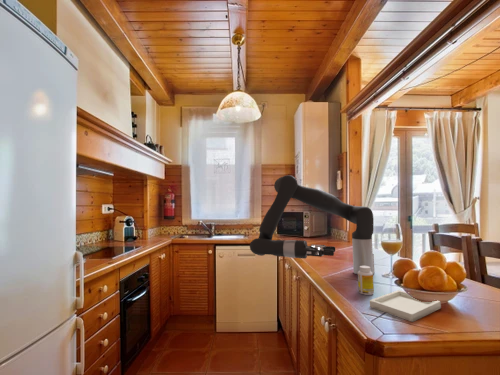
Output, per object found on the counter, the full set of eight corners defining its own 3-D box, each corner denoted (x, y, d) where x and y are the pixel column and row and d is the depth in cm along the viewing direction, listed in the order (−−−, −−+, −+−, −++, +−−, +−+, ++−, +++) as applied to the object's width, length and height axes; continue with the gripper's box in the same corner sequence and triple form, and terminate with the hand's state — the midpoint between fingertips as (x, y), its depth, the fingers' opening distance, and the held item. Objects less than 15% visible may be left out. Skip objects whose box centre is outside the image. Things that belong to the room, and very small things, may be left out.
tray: (398, 296, 101) (398, 290, 101) (440, 308, 89) (440, 301, 89) (369, 306, 91) (369, 300, 91) (412, 321, 79) (412, 314, 79)
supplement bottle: (377, 294, 103) (375, 267, 104) (367, 296, 101) (365, 269, 101) (365, 289, 108) (364, 264, 109) (355, 292, 106) (354, 266, 106)
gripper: (291, 242, 109) (333, 244, 103) (298, 238, 122) (335, 239, 116) (292, 261, 108) (333, 264, 103) (298, 254, 122) (335, 256, 116)
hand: (334, 251), depth 109 cm, fingers open, 8 cm apart
